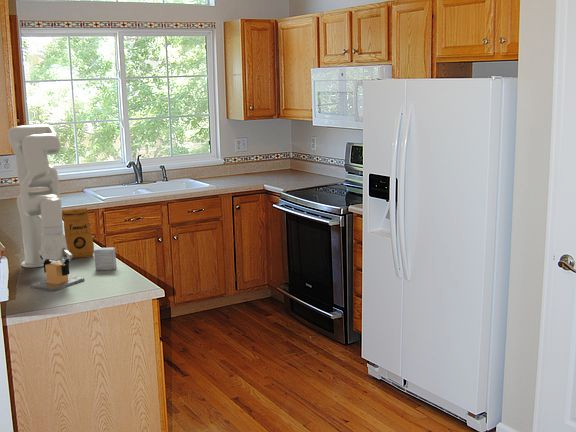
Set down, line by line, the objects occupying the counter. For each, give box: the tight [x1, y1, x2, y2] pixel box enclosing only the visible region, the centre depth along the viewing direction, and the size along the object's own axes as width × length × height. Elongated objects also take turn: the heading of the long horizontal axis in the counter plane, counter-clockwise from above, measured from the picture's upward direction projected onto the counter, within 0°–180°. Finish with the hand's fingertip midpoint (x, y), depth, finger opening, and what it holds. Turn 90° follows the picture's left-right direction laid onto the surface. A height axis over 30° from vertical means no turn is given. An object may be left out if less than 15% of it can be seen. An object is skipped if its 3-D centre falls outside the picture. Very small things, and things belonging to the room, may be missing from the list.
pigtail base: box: [29, 274, 85, 292], centre depth 271 cm, size 12×16×6 cm
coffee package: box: [61, 207, 95, 259], centre depth 310 cm, size 10×12×22 cm
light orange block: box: [45, 261, 69, 284], centre depth 271 cm, size 6×6×7 cm
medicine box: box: [93, 246, 117, 271], centre depth 291 cm, size 8×4×9 cm, turn 92°
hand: (56, 273), depth 271 cm, fingers open, 9 cm apart
